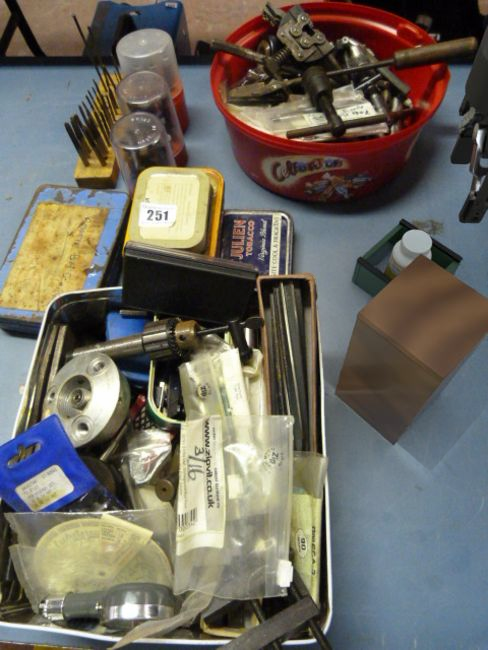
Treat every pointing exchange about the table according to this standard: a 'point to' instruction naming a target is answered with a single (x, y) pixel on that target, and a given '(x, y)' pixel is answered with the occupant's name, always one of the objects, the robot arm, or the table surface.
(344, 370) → the brown rectangular block
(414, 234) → the supplement bottle
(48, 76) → the table surface
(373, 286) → the tray
